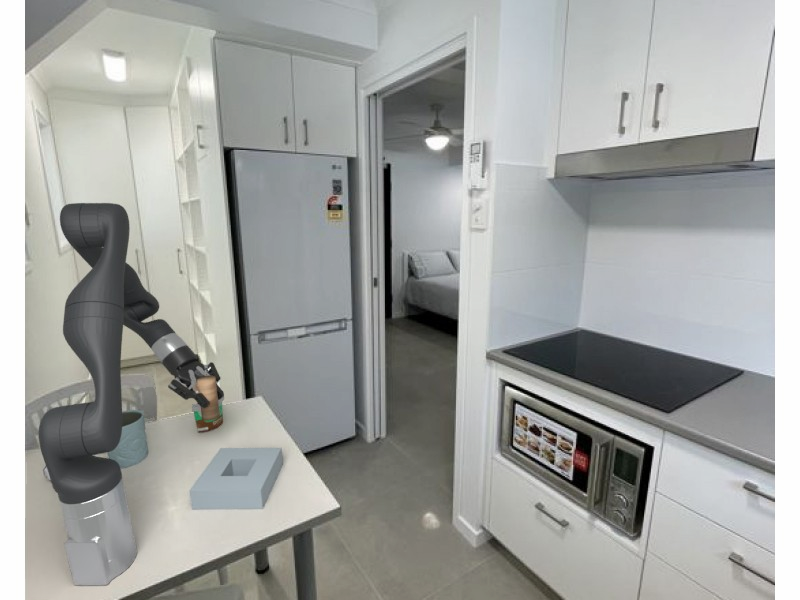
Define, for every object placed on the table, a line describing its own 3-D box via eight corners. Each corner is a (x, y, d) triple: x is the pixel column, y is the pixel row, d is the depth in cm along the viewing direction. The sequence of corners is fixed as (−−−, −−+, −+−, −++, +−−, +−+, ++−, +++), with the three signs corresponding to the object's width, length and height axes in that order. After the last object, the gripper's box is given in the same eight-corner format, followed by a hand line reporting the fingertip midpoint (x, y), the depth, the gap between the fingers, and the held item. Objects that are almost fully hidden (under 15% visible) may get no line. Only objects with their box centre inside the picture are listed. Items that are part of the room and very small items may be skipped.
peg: (215, 420, 106) (210, 382, 103) (198, 420, 106) (193, 382, 103) (222, 412, 110) (218, 375, 108) (206, 412, 110) (202, 375, 108)
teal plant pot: (146, 464, 106) (139, 424, 103) (101, 474, 103) (92, 432, 100) (153, 444, 115) (147, 406, 113) (112, 452, 112) (104, 413, 109)
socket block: (262, 508, 90) (260, 489, 89) (192, 509, 90) (189, 490, 89) (283, 464, 106) (281, 447, 105) (222, 464, 106) (220, 447, 105)
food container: (215, 435, 119) (211, 405, 117) (195, 435, 120) (191, 405, 117) (233, 414, 131) (230, 386, 129) (215, 414, 132) (211, 386, 129)
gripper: (156, 354, 100) (199, 406, 98) (202, 337, 113) (240, 383, 111) (144, 371, 103) (186, 422, 101) (190, 353, 116) (227, 397, 114)
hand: (214, 401), depth 106 cm, fingers closed on peg, 4 cm apart
